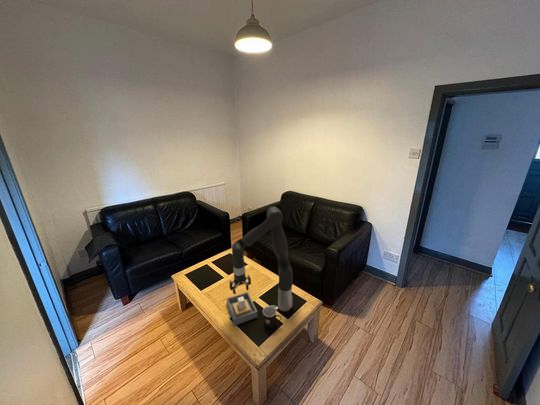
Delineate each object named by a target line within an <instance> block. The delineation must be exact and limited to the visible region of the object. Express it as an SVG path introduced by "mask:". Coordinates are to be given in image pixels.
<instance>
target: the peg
mask: <svg viewBox="0 0 540 405" xmlns="http://www.w3.org/2000/svg"><path fill="white" fill-rule="evenodd" d="M238 309H239V311H240V310H243V309H245V299H244V297H243V296H242V297H239V298H238Z"/></svg>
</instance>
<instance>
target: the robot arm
mask: <svg viewBox="0 0 540 405" xmlns="http://www.w3.org/2000/svg"><path fill="white" fill-rule="evenodd" d="M283 221H284V216H283V213H282V211H281V209H280V208H279V207H278V206H270V207H269V208H268V209H267V212H266V218H265V220H264V221H263V222H262V223H261V224H259V225H258V226H256V227H254V228H252V229H251V230H249V231H248V232H246V234H245V235H243V237H240V238H239V239H237V240H236V241H235V242H233V244H232V246H231V247H232V248H231V254H232V256H231V257H232V262H233V264H232V265H233V267H232V268H233V280H229V283H228V284H229V290H230V291H232V294H233V295H236V294H237V293H236V289H237V288H238V287H239V286H242V285H243V286H244V285H245V289H246V291H248V290H249V285H252V280H251V279H252V278H251V277H250V275H249V274H248V275H247V276H246V266H245V265H246V264H245V257H244V256H245V255H244V249H245V248H246V247H251V246H252V245H253V244H254V243H255V242H256V241H257V240H259V239H260V238H261V237H262V236H263V235H265V234H266V233H268V232H269V231H271V232H270V233H271V241H272V242H271V243H272V246H273V252H274V254H275V256H276V259H277V268H278V283H277V284H278V286H277V288H278V290H277V292H278V293H277V294H278V295H277V306H278V307H277V308H278V309H279V310H280V311H281V312H288V311H290V310H291V308H293V298H294V297H293V295H292V292H293V290H292V286H293V281H294V280H293V279H294V274H293V269H292V266H291V263H290V259H289V245H288V242H287V241H288V240H287V237H286V234H285V231H284V229H283V224H282V223H283Z"/></svg>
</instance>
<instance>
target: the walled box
mask: <svg viewBox="0 0 540 405" xmlns="http://www.w3.org/2000/svg"><path fill="white" fill-rule="evenodd" d="M242 296H243V297H244V299H245V309H243V310H240V311H239V309H238V298H239V297H242ZM226 304H227V307H228V311H229V314H230V317H231V320H232V323H233V326H238V325H240V324H242V323H245V322H249V321H251V320H253V319H257V318H258V317H259V316H258V315H259V314H258V310H257V308H256V305H255V303H254V301H253V300H252V298H251V295H250V293H249V291H246V292H243V293H240V294H237V295H236V294H235V295H233V296H230V297H227V298H226Z"/></svg>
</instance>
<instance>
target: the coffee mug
mask: <svg viewBox="0 0 540 405" xmlns="http://www.w3.org/2000/svg"><path fill="white" fill-rule="evenodd" d="M262 316H263V321H264V326H265V327H266V328H273V327H274V326H275V323H276V322H281V321H282V316H281V315H279V314H277V310H276V307H274V306H272V305H269V306H265V307H264V308H263V309H262ZM277 317H279V318H280V319H278V320H276V318H277Z"/></svg>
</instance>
